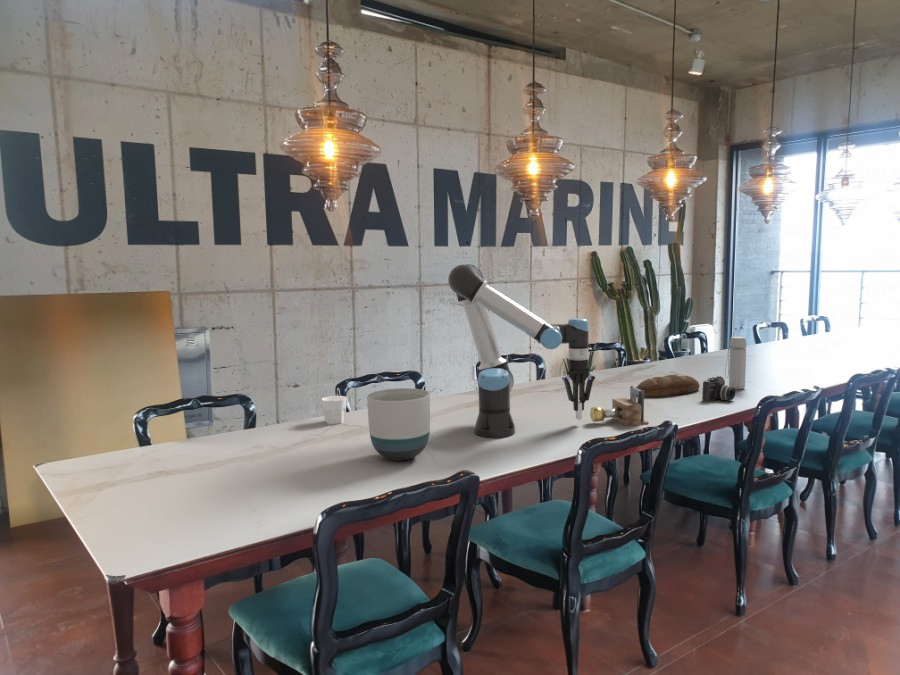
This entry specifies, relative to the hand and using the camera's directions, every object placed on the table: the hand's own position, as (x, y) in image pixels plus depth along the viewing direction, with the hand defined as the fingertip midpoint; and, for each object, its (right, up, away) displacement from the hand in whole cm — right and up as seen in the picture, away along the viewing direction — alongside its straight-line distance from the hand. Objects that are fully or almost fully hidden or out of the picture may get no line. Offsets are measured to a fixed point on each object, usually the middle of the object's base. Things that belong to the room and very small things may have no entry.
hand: (578, 418), depth 236 cm
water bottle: (+89, +7, +61) cm, 108 cm away
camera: (+71, +3, +37) cm, 80 cm away
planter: (-66, -9, -35) cm, 75 cm away
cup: (-98, -4, +15) cm, 99 cm away
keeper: (+24, +5, +4) cm, 25 cm away
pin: (+12, -1, +2) cm, 12 cm away
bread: (+54, +5, +55) cm, 78 cm away
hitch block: (+21, -1, +4) cm, 22 cm away
